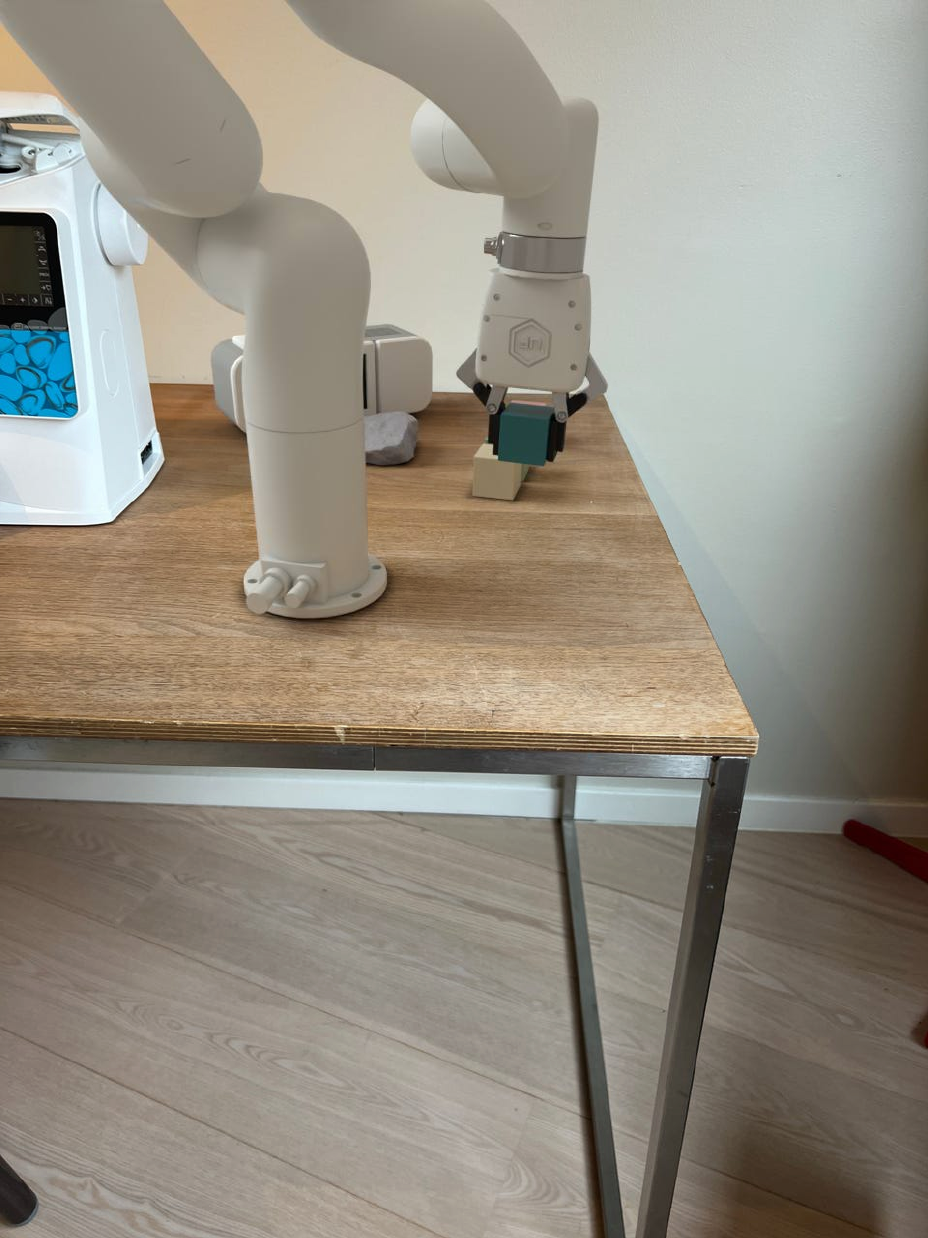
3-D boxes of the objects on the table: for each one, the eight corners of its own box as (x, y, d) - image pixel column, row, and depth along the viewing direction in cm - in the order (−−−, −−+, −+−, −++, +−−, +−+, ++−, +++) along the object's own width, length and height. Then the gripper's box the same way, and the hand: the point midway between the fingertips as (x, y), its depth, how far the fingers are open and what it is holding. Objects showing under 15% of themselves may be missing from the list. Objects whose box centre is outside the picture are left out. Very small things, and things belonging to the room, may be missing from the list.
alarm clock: (240, 447, 112) (229, 350, 106) (218, 426, 119) (207, 334, 113) (433, 418, 124) (433, 329, 119) (402, 400, 131) (401, 316, 125)
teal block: (544, 466, 86) (548, 419, 84) (497, 460, 87) (500, 413, 85) (551, 452, 90) (555, 407, 88) (506, 447, 91) (509, 401, 89)
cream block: (513, 500, 99) (515, 460, 97) (472, 496, 100) (473, 456, 98) (520, 485, 103) (522, 447, 101) (481, 481, 104) (482, 443, 102)
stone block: (410, 480, 108) (421, 438, 116) (407, 445, 105) (419, 404, 113) (313, 477, 110) (331, 436, 117) (307, 443, 106) (326, 402, 114)
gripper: (438, 252, 78) (431, 455, 87) (635, 269, 75) (607, 477, 84) (459, 244, 85) (450, 434, 93) (640, 259, 82) (614, 453, 90)
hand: (525, 452), depth 88 cm, fingers closed on teal block, 4 cm apart
